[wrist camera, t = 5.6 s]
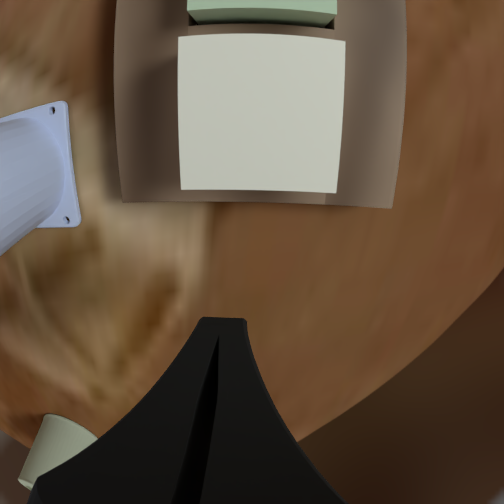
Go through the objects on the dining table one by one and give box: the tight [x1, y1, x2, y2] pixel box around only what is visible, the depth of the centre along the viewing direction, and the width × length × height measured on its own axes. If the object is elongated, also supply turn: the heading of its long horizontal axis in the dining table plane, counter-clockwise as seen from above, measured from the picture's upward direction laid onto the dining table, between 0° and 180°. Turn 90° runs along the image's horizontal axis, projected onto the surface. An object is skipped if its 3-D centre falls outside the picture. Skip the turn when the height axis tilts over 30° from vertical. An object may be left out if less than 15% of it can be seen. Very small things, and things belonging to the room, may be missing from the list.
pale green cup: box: [18, 414, 98, 490], centre depth 27 cm, size 9×9×12 cm
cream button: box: [178, 34, 345, 193], centre depth 12 cm, size 6×6×4 cm
